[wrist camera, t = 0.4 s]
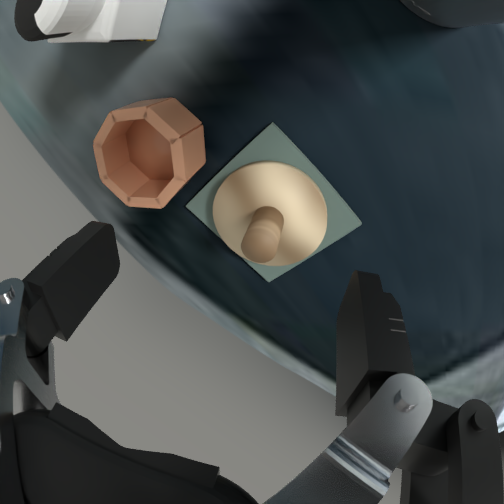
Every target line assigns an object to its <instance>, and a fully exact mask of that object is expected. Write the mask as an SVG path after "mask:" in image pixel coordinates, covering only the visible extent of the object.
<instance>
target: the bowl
mask: <svg viewBox="0 0 504 504" xmlns="http://www.w3.org/2000/svg"><path fill="white" fill-rule="evenodd" d="M201 124H202V122H201V121H200V120H199V119H197V118H196V117H195V116H194V115H193V114H192V113H191V112H190V111H189V110H188V109H187V108H185V107H184V106H183V105H182V104H181V103H180V102H179V101H178V100H177V99H175V98H173V97H169V98H159V99H150V100H142V101H138V102H135V103H132V104H129V105H126V106H123V107H121V108H118V109H115V110H113V111H111V112H109V114H108V116H107V117H106V119H105V121H104V123H103V124H102V126H101V128H100V130H99V132H98V134H97V135H96V137H95V139H94V141H93V142H94V144H93V148H94V153H95V158H96V163H97V167H98V172H99V176H100V179H102V182H103V183H104V184H105V185H106V186H107V187H108V188H109V189H110V190H111V191H112V192H113V193H114V194H115V195H116V196H117V197H118V198H119V199H120V200H121V201H123V202H124V203H125V204H126V205H129V207H145V208H159V209H161V208H163V207H164V206H165V205H166V204H167V203H168V202H169V201H170V200H171V199H172V198H173V197H174V196H175V195H176V194H177V193H178V192H179V191H180V190H181V189H182V188H183V187H184V185H185V184H186V183H187V182H188V181H189V180H190V179H191V178H192V177H193V176H194V175H195V174H196V173H197V171H198V170H199V169H200V168H201V167H202V166H203V165H204V164H205V162H206V157H205V144H204V130H203V125H201Z"/></svg>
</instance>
